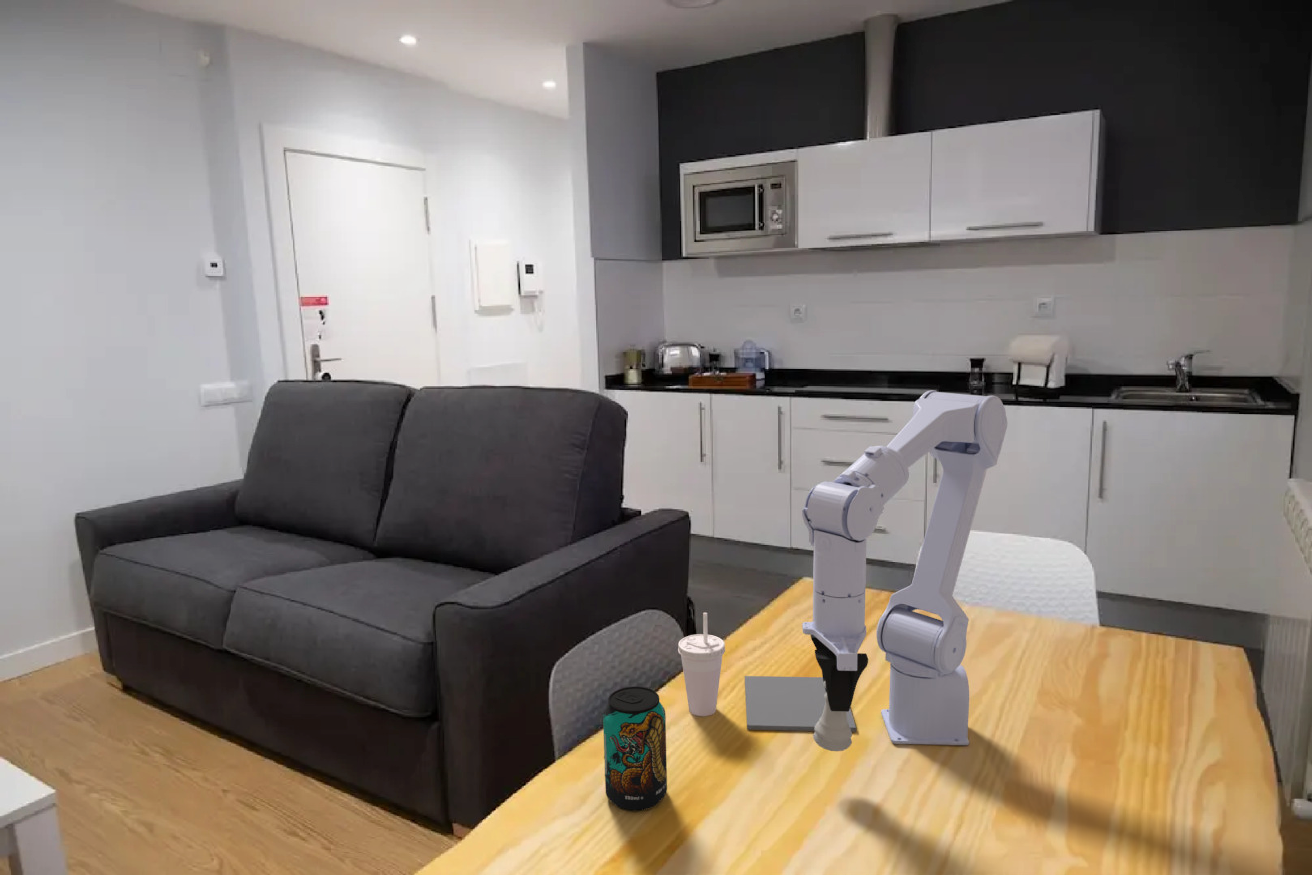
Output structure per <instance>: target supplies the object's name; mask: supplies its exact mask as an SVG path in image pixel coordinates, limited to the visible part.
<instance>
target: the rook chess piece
mask: <svg viewBox="0 0 1312 875" xmlns="http://www.w3.org/2000/svg"><path fill="white" fill-rule="evenodd" d="M823 684H824V686H825V688H826V684H825V681H824V682H823ZM824 698H825V706H824V710H823V714H822V717H820V719H819V721H818V722H817V723H816V725H815V727H814V730H815V731H814V733H813V734H812V737H813V740H814V742H815V743H816V744H817V746H819V747H820V748H822V749H824V750H827V751H831V752H844V751H845V750H847V749H849V748H850V746H852V744H853V741H852V736H853V732H851V728H850V727H849V723H848V722H847V712H846V711H831V710H830V707H829V703H828V698H827V692H826V694H825V695H824Z"/></svg>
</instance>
